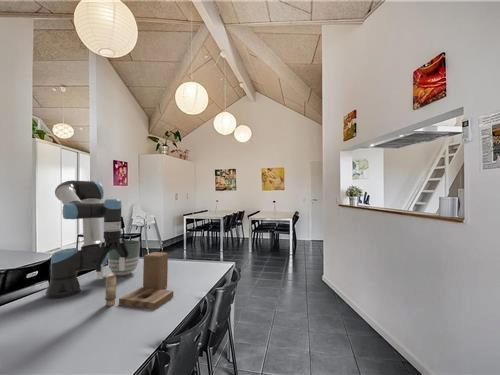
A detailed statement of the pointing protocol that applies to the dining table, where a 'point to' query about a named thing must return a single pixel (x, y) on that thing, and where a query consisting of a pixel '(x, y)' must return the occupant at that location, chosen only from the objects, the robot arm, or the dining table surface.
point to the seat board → (146, 298)
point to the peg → (110, 289)
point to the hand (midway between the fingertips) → (111, 274)
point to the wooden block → (155, 270)
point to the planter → (130, 260)
